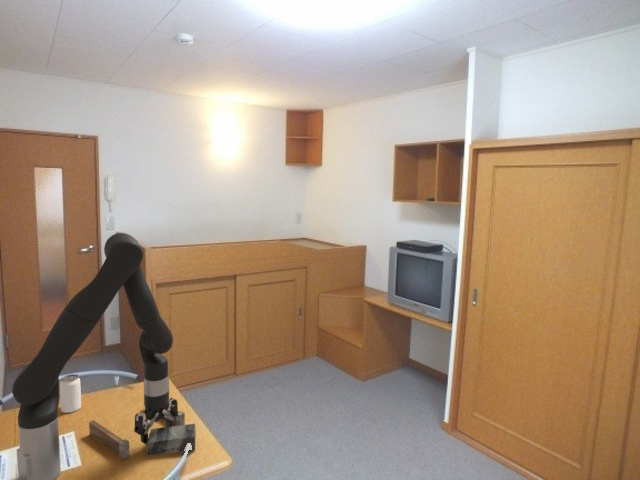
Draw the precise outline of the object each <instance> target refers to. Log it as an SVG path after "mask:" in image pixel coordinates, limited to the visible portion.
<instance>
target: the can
mask: <svg viewBox="0 0 640 480" xmlns="http://www.w3.org/2000/svg"><path fill="white" fill-rule="evenodd" d="M81 390H82V389H81V379H80V376H79V375H78V374H74V373H73V374H67V375H64V376H62V377H61V378H60V381H59V404H60V411H61V412H62V413H64V414H71V413H76V412H77V411H79V410H80V409H81V407H82V391H81Z"/></svg>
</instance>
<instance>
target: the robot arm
mask: <svg viewBox="0 0 640 480" xmlns="http://www.w3.org/2000/svg"><path fill="white" fill-rule="evenodd" d="M103 250H104V251H103V252H104V256H105V260H104V261H103V264H102V265H101V267H100V268H99V270H98V271H97V273H96V275H95V276H94V278H93V279H92V280H91V281H90V282H89V283H87V285H85V286H84V287H83V288H82V289H81V290H79V291H78V292H76V294H75V295H74V296H73V297H72V298H71V299H70V300H69V302H68V303H67V304H66V305H65V307H64V309H63V310H62V311H61V313H60V314H59V316H58V317H57V319H56V321H55V322H54V323H53V326H52V328H51V329H50V332H49V333H48V335H47V337H46V338H45V340H44V343H43V344H42V347H41V349H40V350H39V351H38V352H37V354H36V356H35V357H34V358H33V360H32V361H31V362H29V363H27V364H26V365H25V366H24V367H23V369H22V370H21V371H20V373H18V375H17V377H16V378H15V380H14V381H13V384H12V390H11V392H12V396H13V398H14V399H15V401H16V403H18V404H20V406H19V410H18V415H17V426H18V443H19V448H17V449H16V460H17V474H18V476H17V477H18V480H55V479H57V478H58V477H59V476H60V473H61V471H62V470H61V454H60V453H61V452H60V451H61V450H60V434H59V433H60V431H59V430H60V429H59V427H60V426H59V404H60V377H59V376H60V374H61V373H62V371H63V369H64V367H65V366H66V364H68V362H69V360H70V359H71V358H72V357H73V356H74V354H75V353H76V352H77V351H78V350H79V348H81V347H82V345H83V343H84V342H85V341H86V340H87V338H88V337H89V336H90V334H91V333H92V332H93V331H94V329H95V328H96V326H97V325H98V323H99V322H100V320H101V318H102V317H103V315H104V314H105V313H106V310H108V308H109V306H110V304H111V303H112V302H113V300H114V299H115V297H116V295H117V294H118V292H119V291H120V289H121V288H122V287H123V289H124V292H125V296H126V299H127V301H128V305H129V308H130V311H131V313H132V316H133V318H134V321H135V324H136V325H137V327H138V328H139V329H141V330H142V331H141V334H139V338H138V347H139V351H140V356H141V359H142V362H143V365H144V371H143V372H144V381H143V405H144V410H143V412H142V413H140V414H139V413H136V414H135V415H134V433H136V434H137V435H138V436H140V441H141V443H143V444H144V445H147V441H148V438H149V431H150V430H151V429H150V428H152V426H154V424H155V423H156V422H158V421H159V420H163V417H166V418H167V419H166V420H164V421H165V427H166V426H168V427H173V424H172V420H173V418H174V417H177V416H178V412H179V411H178V410H179V408H178V399H176V398H173V397H170V378H169V362H168V361H169V360H168V358H167V357H165V356H164V355H163V354H166V353H168V352H169V351H170V350H171V348H172V346H173V343H174V337H173V333H172V331H171V329H170V328H169V327H168V325H167V323H166V322H165V320H164V319H163V318H162V316H161V313H160V310H159V308H158V305H157V303H156V300H155V298H154V296H153V293H152V291H151V289H150V286H149V284H148V283H147V279H146V278H145V276H144V273H143V269H142V267H141V264H142V262H143V259H144V250H143V248H142V246H141V244H140V243H139V242H138V240H137V239H136V238H135V237H134V236H132V235H130V234H128V233H126V232H118V233H114V234H112V235H111V236H109V237H108V238H107V240H106V241H105V244H104V247H103ZM169 407H170V414H169V413H168V412H167V410H168V408H169Z"/></svg>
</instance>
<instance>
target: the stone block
mask: <svg viewBox="0 0 640 480" xmlns="http://www.w3.org/2000/svg"><path fill="white" fill-rule="evenodd" d="M149 431H150V432H149V433H148V441H147V444H146V455H147V456H148V457H149V456H157V455H165V454H172V453H184V452H183V451H184V449H185V447H186V445H187V443H191V445H192V450H195V451H196V438H197V437H196V435H197V434H196V423H189V424H185V425H181V426H175V425H172V427H168V426H166V425H165V426H163V427H156V428H151V429H150V430H149Z"/></svg>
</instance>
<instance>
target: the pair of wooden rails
mask: <svg viewBox="0 0 640 480" xmlns="http://www.w3.org/2000/svg"><path fill="white" fill-rule="evenodd" d="M167 412H168V413H169V414H170V406H169V408H168V410H167ZM185 416H186V415H185V412H184V411H182V410H180V411H178V416H177V417H174V418H173V420H172V426H181V425H186V424H185V423H186V422H185V421H186V420H185V418H186V417H185ZM166 419H167V418H166V417H163V418H162V420H164V421H165V420H166ZM88 423H89V424H88V425H89V427H88V428H89V430H88V431H89V436H91V437H92V438H93V439H95V440H96V441H97V442H99V443H100V444H102V445H103V446H104V447H106V448H107V449H109V450H110V451H112V452H113V453H114V454H115V455H118V456H119V458H120V459H121V460H122V461H124V460H125V459H128V458H130V441H129V440H128V439H126V438H125V439H122V438H121V437H120V436H118V435H117V434H115V433H114V432H112V431H111V430H110V429H108V428H106V427H105V426H103V425H102V424H101V423H98V422H97V421H95V420H91V421H89V422H88Z"/></svg>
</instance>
